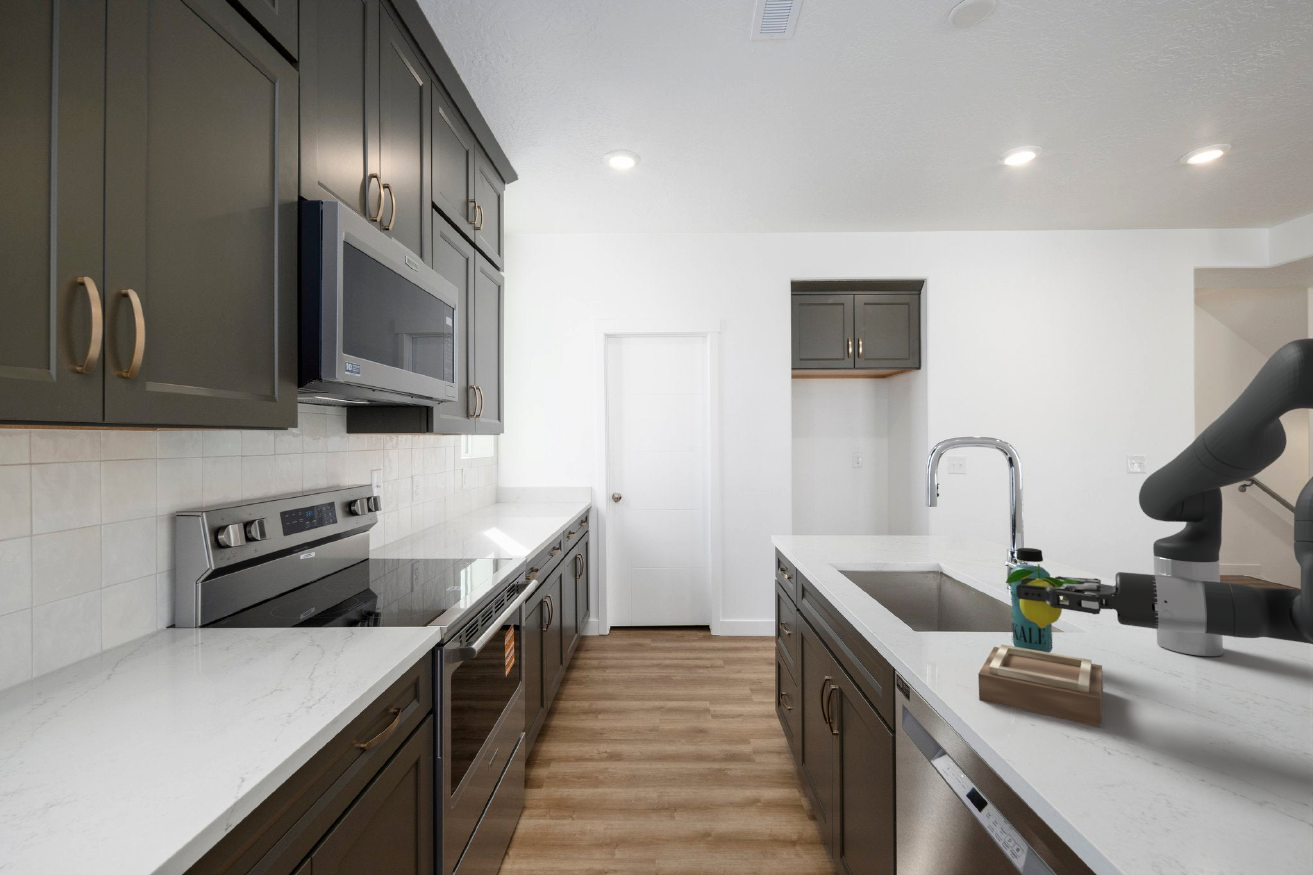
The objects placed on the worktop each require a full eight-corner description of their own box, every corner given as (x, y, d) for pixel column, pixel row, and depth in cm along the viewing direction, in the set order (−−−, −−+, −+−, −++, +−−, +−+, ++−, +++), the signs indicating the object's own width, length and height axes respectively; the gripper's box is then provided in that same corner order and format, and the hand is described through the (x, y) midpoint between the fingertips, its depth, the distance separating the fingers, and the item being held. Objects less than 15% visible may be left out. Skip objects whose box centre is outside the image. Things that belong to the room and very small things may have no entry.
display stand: (994, 669, 101) (994, 640, 101) (1103, 690, 91) (1101, 659, 91) (979, 699, 89) (978, 667, 89) (1101, 727, 80) (1099, 691, 80)
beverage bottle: (1041, 649, 110) (1037, 545, 110) (1062, 662, 103) (1058, 551, 104) (1005, 649, 110) (1001, 545, 111) (1023, 662, 104) (1020, 551, 104)
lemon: (1007, 625, 92) (1004, 562, 92) (1031, 619, 94) (1028, 558, 95) (1050, 636, 86) (1046, 569, 86) (1074, 630, 88) (1071, 565, 89)
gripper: (1154, 567, 87) (1023, 557, 98) (1160, 585, 76) (1011, 571, 87) (1157, 616, 87) (1025, 601, 98) (1163, 642, 76) (1014, 621, 86)
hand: (1019, 587), depth 92 cm, fingers closed on lemon, 5 cm apart
